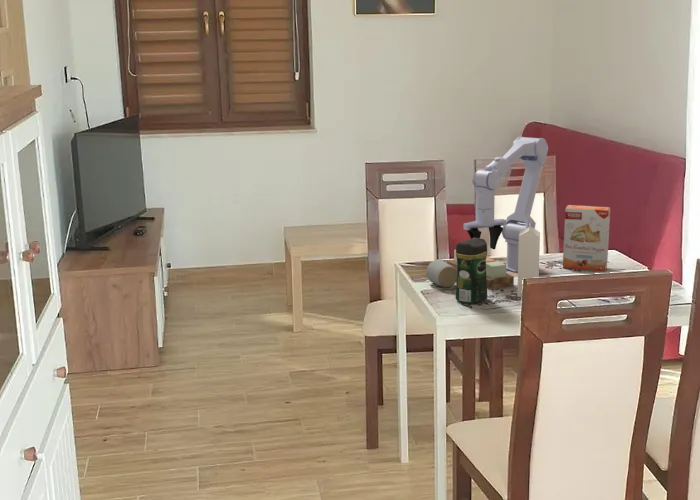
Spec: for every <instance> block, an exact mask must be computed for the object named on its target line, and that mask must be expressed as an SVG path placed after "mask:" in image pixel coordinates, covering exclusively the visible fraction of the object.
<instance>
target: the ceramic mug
mask: <svg viewBox="0 0 700 500" xmlns="http://www.w3.org/2000/svg"><path fill="white" fill-rule="evenodd" d="M425 271H426V278H427V279H428V281H429V282H431V283H433V284H435V285H437V286H439V287H441V288H445V289H446V288H451V287H452V286H454V285H456V280H457V271H456V270H455V268H453V267H452V266H451V265H449V264H447V261H444V260H442V259H434V260H432V261H431V262H429V264H428V266H427V268H426V270H425Z"/></svg>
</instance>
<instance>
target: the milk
mask: <svg viewBox="0 0 700 500" xmlns="http://www.w3.org/2000/svg"><path fill="white" fill-rule="evenodd" d="M540 245H541V232H540V231H538V230H537V229H536V228H535V229H534V228H532V227H531V226H530V224H529V227H528V228H526V229H524V230H522V231H520V234H519V250H518V272H517V295H516V296H517V298H522V297H521V291H522V280H523V278H533V277H540V275H539V274H540V249H541V248H540V247H541V246H540Z"/></svg>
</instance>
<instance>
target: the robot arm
mask: <svg viewBox="0 0 700 500" xmlns="http://www.w3.org/2000/svg"><path fill="white" fill-rule="evenodd" d="M548 151H549V146H548V143H547V140H546V139H545V138H543V137H540V138H539V137H526V136H525V137H524V136H518V137H516V139H515V140H513V142H512V146H511V148H510V149H508V151H506V153H505V154H504V155H503V156H501V157H500V156H499V157H498V156H496V157H495V158H494V159H493V161H491V162H490V163H489V164H488V165H485V167H484V168H483V169H479V170H477V171H475V173H474V174H473V176H472V177H473V178H472V185H473V188H474V193H475V195H476V196H475V197H476V198H475V199H476V200H475V203H476V204H475V208H476V209H475V220H473V221H469V222H465V223H463V230H464V231H467V234H468V235H469V238H470V239H472V238H480V239H481V235H482V231H480V230H479V229H487V228H488V232H489V248H490V249H491V250H496V247H497V244H498V240H499V239H500V236H501V235H502V238H503V239H504V240H505V243H507V244H506V270H508V271H510V272H513V273H514V272H515V273H518V250H519V234H520V231H522V230H524V229H526V228H528V227H529V224H530V226H531V227H532V228H534V229H535V230H536V224H537V223H536V221H535V220H534V219H533V217H532V216H531V213H532V210H533V205H534V202H535V197H536V194H537V191H538V185H539V183H540V178H541V174H542V171H543V170H542V169H543V166H544V165H545V163H546V159H547V155H548ZM518 160H519V161H520V162H521V163H522V164H523V165H524V166H525V168H524V173H523V177H522V181H521V185H520V189H519V193H518V197H517V201H516V206H515V209H514V212H513V213H511V214H509V215H508V216H507V217H506V219H504V218H495V199H496V198H495V197H496V195H495V189H497V188H498V186H499V183H500V181H501V179H502V177H504V176H505V175H506V174H507V173H508V172H509V171H510V167H511V165H512V164H514V163H515V162H517V161H518Z"/></svg>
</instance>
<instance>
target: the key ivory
mask: <svg viewBox="0 0 700 500" xmlns="http://www.w3.org/2000/svg"><path fill="white" fill-rule="evenodd" d="M453 256H454V257H453V260H454V261H455V262H457V257H456V249H454V251H453Z"/></svg>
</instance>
